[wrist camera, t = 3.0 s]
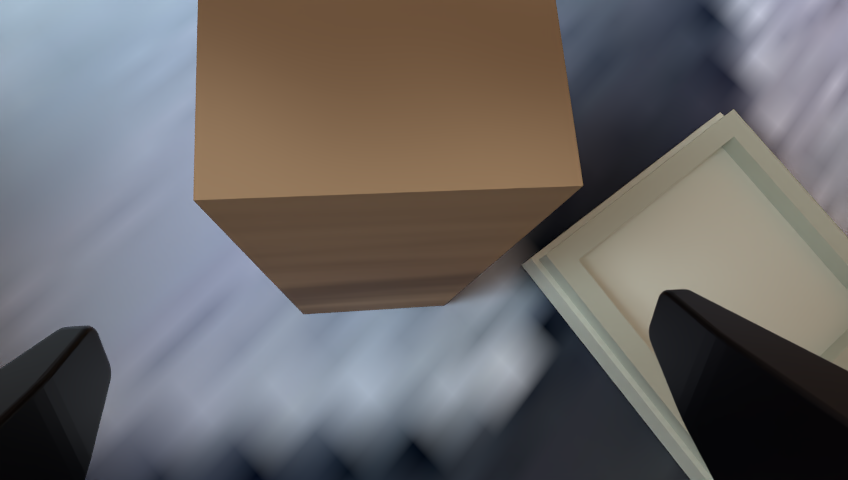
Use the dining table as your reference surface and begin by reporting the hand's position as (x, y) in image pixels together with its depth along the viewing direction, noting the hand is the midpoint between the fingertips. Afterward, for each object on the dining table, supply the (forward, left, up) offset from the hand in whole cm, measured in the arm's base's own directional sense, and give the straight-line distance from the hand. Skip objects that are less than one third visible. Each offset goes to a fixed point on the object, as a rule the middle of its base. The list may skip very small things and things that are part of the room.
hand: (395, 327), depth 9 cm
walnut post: (+3, -2, -11) cm, 11 cm away
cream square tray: (-6, -11, -11) cm, 16 cm away
